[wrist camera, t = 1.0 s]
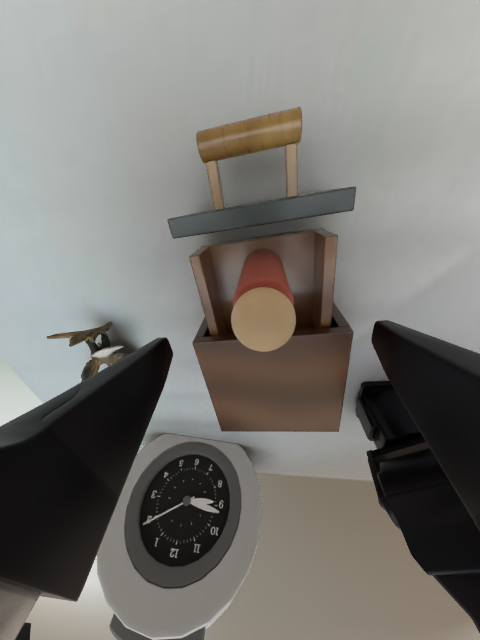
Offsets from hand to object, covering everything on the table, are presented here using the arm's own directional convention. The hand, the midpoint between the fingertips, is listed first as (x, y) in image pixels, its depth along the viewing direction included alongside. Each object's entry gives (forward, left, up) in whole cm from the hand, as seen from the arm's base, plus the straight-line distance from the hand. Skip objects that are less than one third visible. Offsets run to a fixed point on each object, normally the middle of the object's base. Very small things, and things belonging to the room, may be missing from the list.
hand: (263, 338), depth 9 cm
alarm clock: (+14, +33, -12) cm, 38 cm away
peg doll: (0, 0, -10) cm, 10 cm away
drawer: (0, -1, -11) cm, 11 cm away
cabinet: (0, +10, -12) cm, 16 cm away
